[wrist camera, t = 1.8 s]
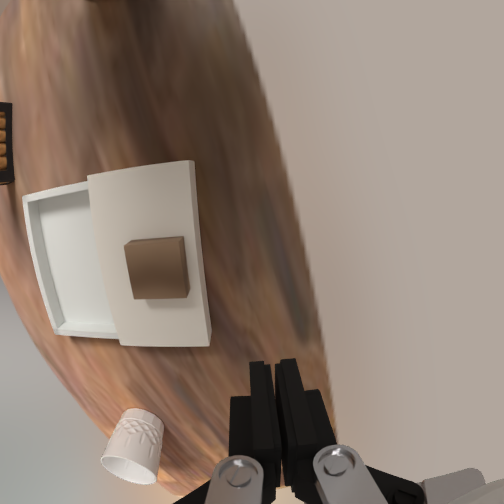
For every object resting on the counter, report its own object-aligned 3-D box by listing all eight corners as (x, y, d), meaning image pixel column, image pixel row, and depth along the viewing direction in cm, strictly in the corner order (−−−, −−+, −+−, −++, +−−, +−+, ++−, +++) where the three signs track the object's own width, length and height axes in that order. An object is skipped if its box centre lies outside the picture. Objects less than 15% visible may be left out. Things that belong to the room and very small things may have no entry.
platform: (101, 174, 25) (87, 175, 22) (194, 161, 25) (188, 160, 23) (129, 331, 30) (120, 345, 27) (211, 330, 31) (209, 346, 28)
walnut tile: (131, 240, 24) (123, 245, 22) (183, 236, 24) (179, 241, 22) (140, 290, 26) (133, 299, 24) (190, 288, 26) (186, 298, 24)
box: (34, 193, 25) (22, 196, 23) (100, 179, 25) (88, 180, 23) (64, 324, 30) (55, 334, 28) (126, 327, 30) (119, 339, 28)
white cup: (134, 397, 34) (113, 450, 24) (178, 425, 35) (168, 478, 26) (111, 416, 35) (92, 462, 25) (151, 441, 37) (139, 488, 27)
